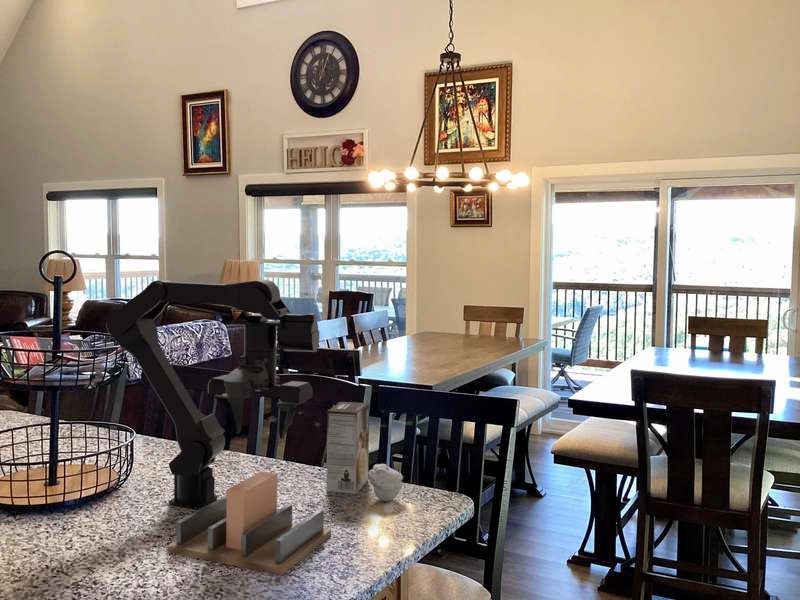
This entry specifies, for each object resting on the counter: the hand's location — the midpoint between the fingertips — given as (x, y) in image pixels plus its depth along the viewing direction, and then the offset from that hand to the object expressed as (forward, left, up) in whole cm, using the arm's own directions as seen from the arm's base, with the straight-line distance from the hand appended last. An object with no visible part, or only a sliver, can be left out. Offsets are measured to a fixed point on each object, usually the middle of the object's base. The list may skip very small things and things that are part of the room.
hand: (259, 435), depth 130 cm
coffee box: (+10, +17, -13) cm, 24 cm away
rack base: (+8, -15, -13) cm, 21 cm away
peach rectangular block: (+8, -15, -12) cm, 21 cm away
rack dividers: (+8, -15, -13) cm, 21 cm away
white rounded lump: (+20, +12, -13) cm, 27 cm away
